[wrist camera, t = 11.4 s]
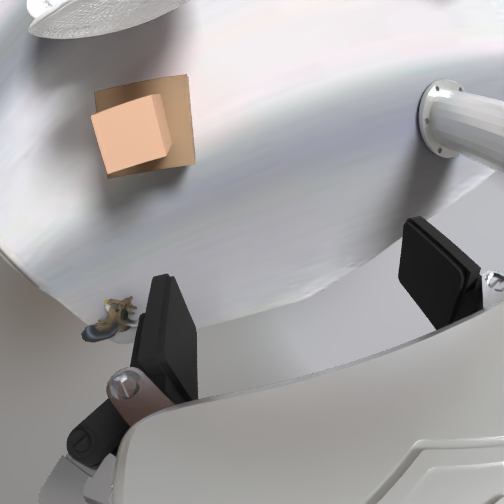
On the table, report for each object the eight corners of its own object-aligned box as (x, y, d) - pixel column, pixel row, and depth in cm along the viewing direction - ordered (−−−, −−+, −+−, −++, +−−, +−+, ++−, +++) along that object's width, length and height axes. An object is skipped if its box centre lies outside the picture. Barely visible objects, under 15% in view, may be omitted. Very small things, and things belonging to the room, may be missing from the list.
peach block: (160, 93, 24) (151, 94, 19) (172, 142, 26) (166, 156, 21) (110, 110, 24) (90, 115, 18) (123, 157, 26) (107, 174, 21)
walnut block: (188, 77, 28) (186, 74, 23) (195, 152, 33) (195, 164, 28) (110, 91, 27) (94, 92, 22) (120, 164, 32) (107, 178, 27)
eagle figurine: (98, 279, 38) (73, 322, 39) (117, 317, 34) (89, 360, 35) (136, 288, 44) (110, 326, 45) (158, 321, 41) (128, 360, 42)
